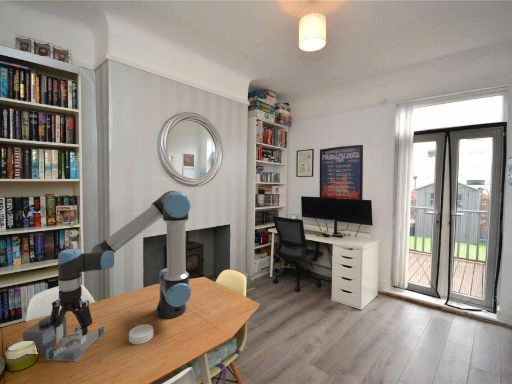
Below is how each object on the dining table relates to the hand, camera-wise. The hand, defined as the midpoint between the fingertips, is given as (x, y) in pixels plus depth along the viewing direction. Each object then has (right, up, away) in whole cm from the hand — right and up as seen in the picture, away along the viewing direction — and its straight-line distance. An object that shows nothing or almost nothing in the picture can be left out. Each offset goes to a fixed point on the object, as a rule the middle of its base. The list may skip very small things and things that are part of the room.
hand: (71, 342), depth 104 cm
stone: (0, 0, 0) cm, 0 cm away
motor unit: (-6, -3, +3) cm, 7 cm away
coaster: (+24, -4, +9) cm, 26 cm away
